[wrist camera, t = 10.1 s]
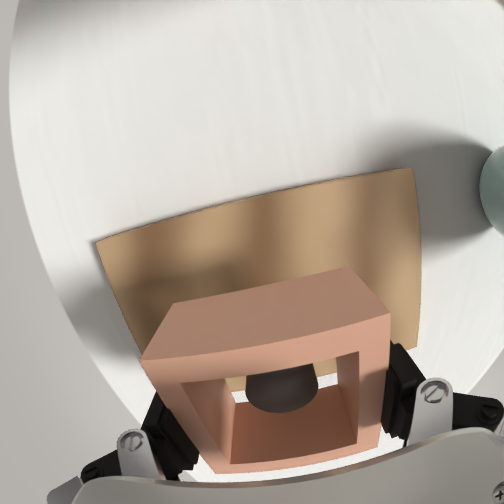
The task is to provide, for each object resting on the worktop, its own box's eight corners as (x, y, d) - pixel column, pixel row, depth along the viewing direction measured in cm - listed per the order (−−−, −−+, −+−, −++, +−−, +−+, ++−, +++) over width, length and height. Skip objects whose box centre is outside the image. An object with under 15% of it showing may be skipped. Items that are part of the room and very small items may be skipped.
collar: (348, 265, 10) (390, 312, 7) (356, 391, 12) (377, 446, 9) (173, 303, 11) (139, 360, 7) (223, 415, 13) (215, 473, 9)
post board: (401, 168, 15) (496, 175, 7) (408, 336, 18) (460, 406, 10) (106, 237, 17) (21, 284, 8) (170, 384, 20) (141, 464, 12)
